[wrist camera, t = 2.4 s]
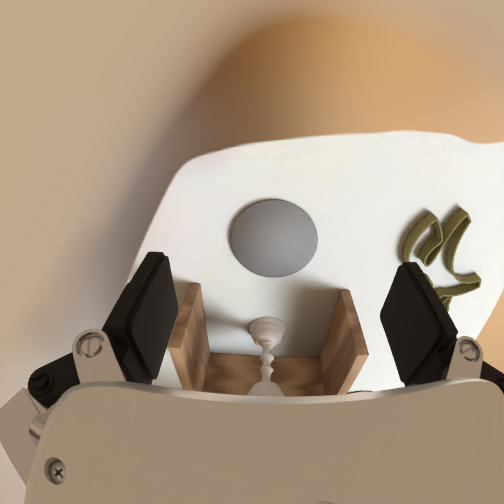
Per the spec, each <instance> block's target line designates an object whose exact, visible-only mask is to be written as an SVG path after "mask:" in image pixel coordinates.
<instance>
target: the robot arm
mask: <svg viewBox="0 0 504 504" xmlns="http://www.w3.org/2000/svg"><path fill="white" fill-rule="evenodd" d="M177 314H178V303H177V298H176V293H175V289H174V284H173V279H172V274H171V269H170V263H169V258H168V256H164V253H163V252H148V253H147V255H146V257H145V258H144V260H143V261H142V263H141V265H140V266H139V268H138V270H137V271H136V273H135V275H134V276H133V278H132V280H131V281H130V283H128V284H127V285H126V287H125V288H124V290H123V292H122V294H121V295H120V297H119V299H118V301H117V302H116V304H115V306H114V308H113V310H112V312H111V313H110V315H109V317H108V319H107V320H106V322H105V324H104V326H103V328H102V330H99V329H89V330H86V331H84V332H82V333H81V334H79V335H78V336H77V337H76V339H75V340H74V342H73V346H72V353H70V354H67V355H65V356H63V357H61V358H59V359H57V360H55V361H53V362H51V363H49V364H47V365H45V366H43V367H40V368H38V369H37V370H35V371H34V372H33V373H32V375H31V377H30V378H29V381H28V388H27V389H26V390H25V389H24V388H23V389H21V390H20V391H19V392H18V393H17V394H16V395H15V396H14V397H12V398H11V399H10V400H9V401H8V402H7V403H6V404H5V405H4V406H3V407H1V408H0V441H1V443H2V445H3V447H4V449H5V451H6V453H7V455H8V457H9V458H10V460H11V462H12V464H13V465H14V467H15V469H16V470H17V472H18V474H19V475H20V477H21V478H22V480H23V482H24V483H25V485H26V486H27V488H26V494H25V500H24V504H504V374H503V373H502V372H500V371H498V370H497V369H495V368H494V367H492V366H491V365H489V364H487V363H486V362H484V361H483V352H482V348H481V347H480V345H479V344H478V343H477V341H475V340H474V339H473V338H470V337H468V336H462V337H460V338H459V339H457V337H456V335H457V334H458V331H457V329H456V327H455V325H454V323H453V321H452V319H451V318H450V316H449V314H448V312H447V310H446V309H445V307H444V305H443V303H442V302H441V300H440V298H439V297H438V295H437V293H436V292H435V290H434V288H433V287H432V285H431V284H430V282H429V280H428V279H427V277H426V276H425V274H424V273H423V271H422V270H421V268H420V267H419V265H418V264H417V263H416V262H403V263H402V265H400V266H399V267H398V269H397V272H396V275H395V277H394V280H393V283H392V285H391V288H390V290H389V293H388V295H387V298H386V300H385V303H384V305H383V307H382V310H381V312H380V320H381V323H382V325H383V328H384V331H385V334H386V337H387V339H388V342H389V345H390V348H391V351H392V354H393V357H394V360H395V364H396V367H397V370H398V373H399V377H400V380H401V381H402V382H404V385H405V387H403V388H396V389H390V390H382V391H375V392H355V393H350V394H344V395H329V396H304V397H271V396H244V395H229V394H217V393H207V392H198V391H190V390H182V389H174V388H167V387H160V386H154V385H151V383H152V380H153V379H156V378H157V376H158V373H159V370H160V367H161V363H162V360H163V357H164V354H165V351H166V348H167V344H168V341H169V338H170V335H171V332H172V329H173V326H174V323H175V320H176V317H177Z"/></svg>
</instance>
